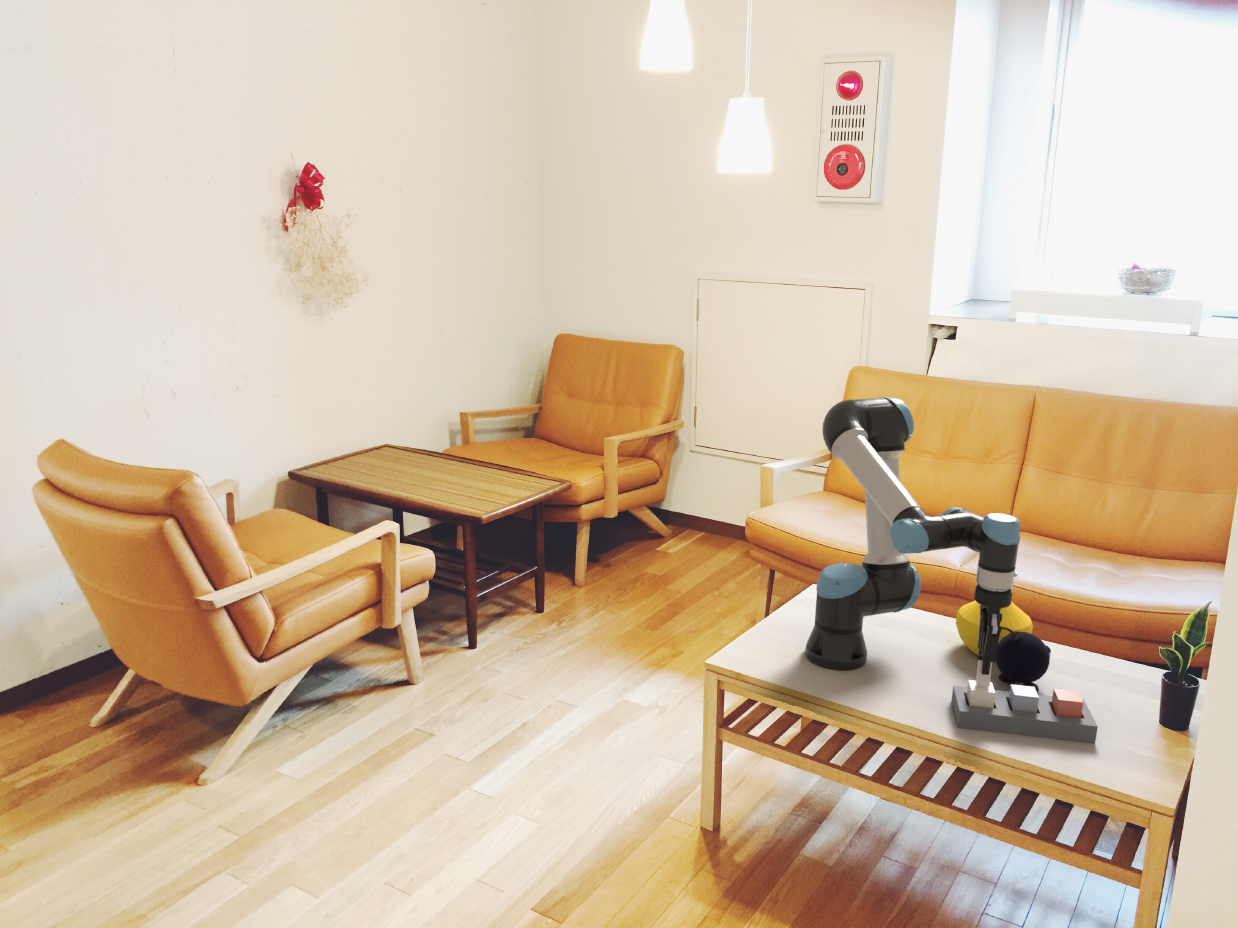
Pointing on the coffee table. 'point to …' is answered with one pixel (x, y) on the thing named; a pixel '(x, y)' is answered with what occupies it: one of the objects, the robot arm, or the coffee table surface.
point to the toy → (1022, 658)
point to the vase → (971, 620)
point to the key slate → (1023, 698)
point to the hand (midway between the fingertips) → (982, 684)
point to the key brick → (1067, 703)
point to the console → (1023, 718)
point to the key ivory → (980, 695)
